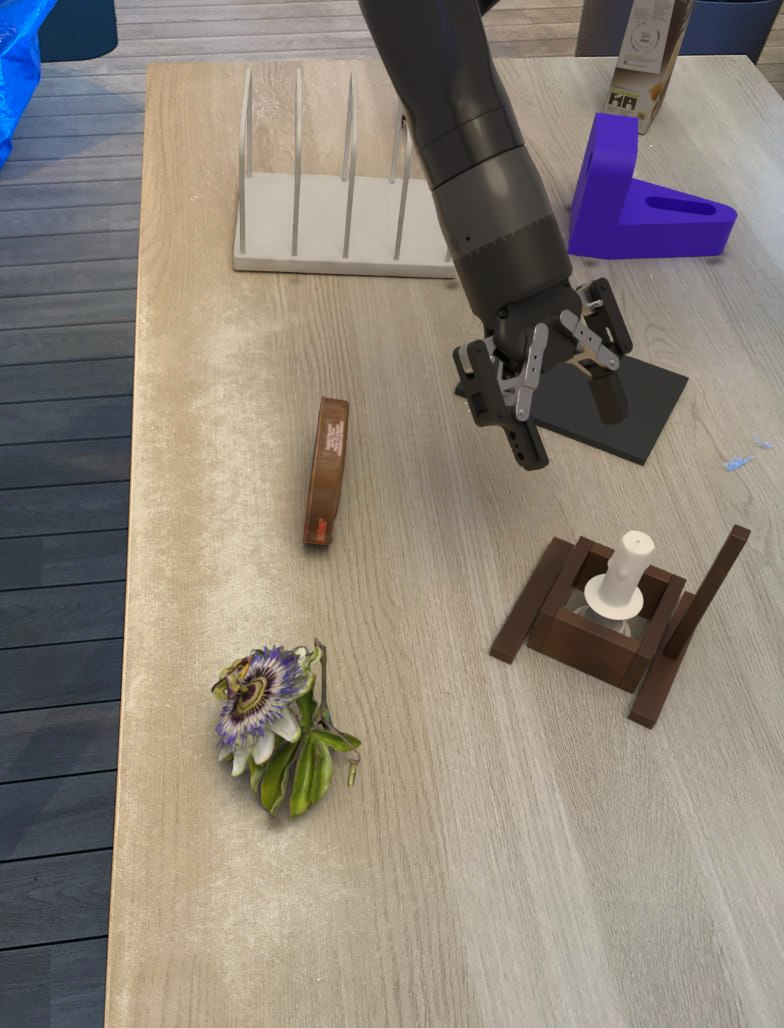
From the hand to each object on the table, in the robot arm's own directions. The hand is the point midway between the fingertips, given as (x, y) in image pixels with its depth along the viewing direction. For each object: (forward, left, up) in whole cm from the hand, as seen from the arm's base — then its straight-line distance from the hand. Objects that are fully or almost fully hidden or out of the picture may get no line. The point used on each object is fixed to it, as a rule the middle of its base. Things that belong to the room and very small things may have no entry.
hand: (578, 444), depth 74 cm
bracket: (+8, -55, -16) cm, 58 cm away
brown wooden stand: (-7, +3, -15) cm, 17 cm away
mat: (+6, -25, -15) cm, 30 cm away
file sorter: (+39, -37, -16) cm, 56 cm away
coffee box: (+19, -82, -16) cm, 86 cm away
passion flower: (+10, +26, -16) cm, 32 cm away
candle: (-7, +3, -16) cm, 17 cm away
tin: (+20, +2, -16) cm, 25 cm away
